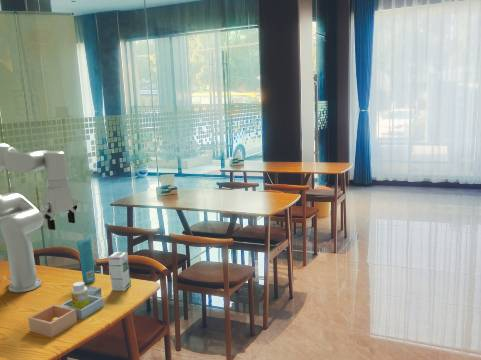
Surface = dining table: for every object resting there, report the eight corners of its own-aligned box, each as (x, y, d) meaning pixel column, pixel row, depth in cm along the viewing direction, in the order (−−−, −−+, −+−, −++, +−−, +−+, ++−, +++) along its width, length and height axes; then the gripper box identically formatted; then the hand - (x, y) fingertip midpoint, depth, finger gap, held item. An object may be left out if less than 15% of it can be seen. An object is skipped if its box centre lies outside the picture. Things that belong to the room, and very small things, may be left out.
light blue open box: (61, 315, 166) (59, 305, 165) (83, 303, 175) (81, 293, 174) (82, 321, 161) (81, 310, 160) (104, 308, 170) (103, 297, 169)
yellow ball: (49, 327, 156) (48, 319, 155) (56, 323, 159) (55, 315, 158) (55, 329, 155) (54, 320, 154) (62, 324, 157) (61, 316, 157)
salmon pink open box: (30, 333, 154) (28, 317, 153) (55, 318, 164) (53, 304, 163) (52, 339, 150) (50, 323, 149) (77, 324, 159) (75, 309, 158)
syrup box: (125, 291, 184) (121, 256, 181) (111, 290, 185) (107, 256, 183) (131, 285, 190) (127, 251, 187) (118, 284, 191) (114, 251, 188)
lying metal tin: (76, 299, 179) (74, 289, 179) (82, 294, 183) (81, 285, 182) (95, 301, 177) (94, 291, 176) (101, 296, 180) (100, 287, 180)
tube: (90, 277, 200) (85, 235, 196) (99, 278, 198) (94, 236, 194) (78, 284, 193) (73, 240, 190) (87, 285, 191) (82, 241, 188)
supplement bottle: (73, 308, 169) (70, 282, 167) (89, 305, 171) (86, 279, 169) (74, 315, 164) (70, 288, 162) (90, 311, 166) (87, 284, 164)
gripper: (68, 178, 187) (72, 219, 190) (31, 187, 172) (36, 231, 175) (81, 180, 183) (85, 221, 187) (45, 188, 168) (50, 233, 172)
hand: (62, 226), depth 181 cm, fingers open, 9 cm apart
